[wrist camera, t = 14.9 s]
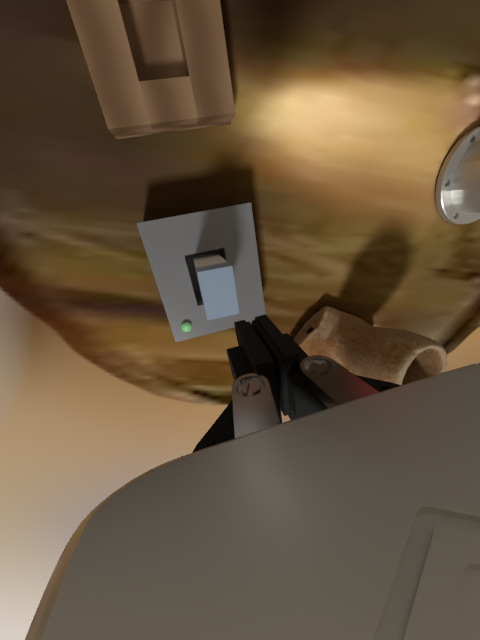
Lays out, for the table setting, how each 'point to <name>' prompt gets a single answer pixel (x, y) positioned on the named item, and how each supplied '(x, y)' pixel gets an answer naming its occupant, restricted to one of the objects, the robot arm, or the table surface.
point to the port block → (180, 274)
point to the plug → (216, 285)
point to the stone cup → (371, 348)
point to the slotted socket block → (156, 63)
